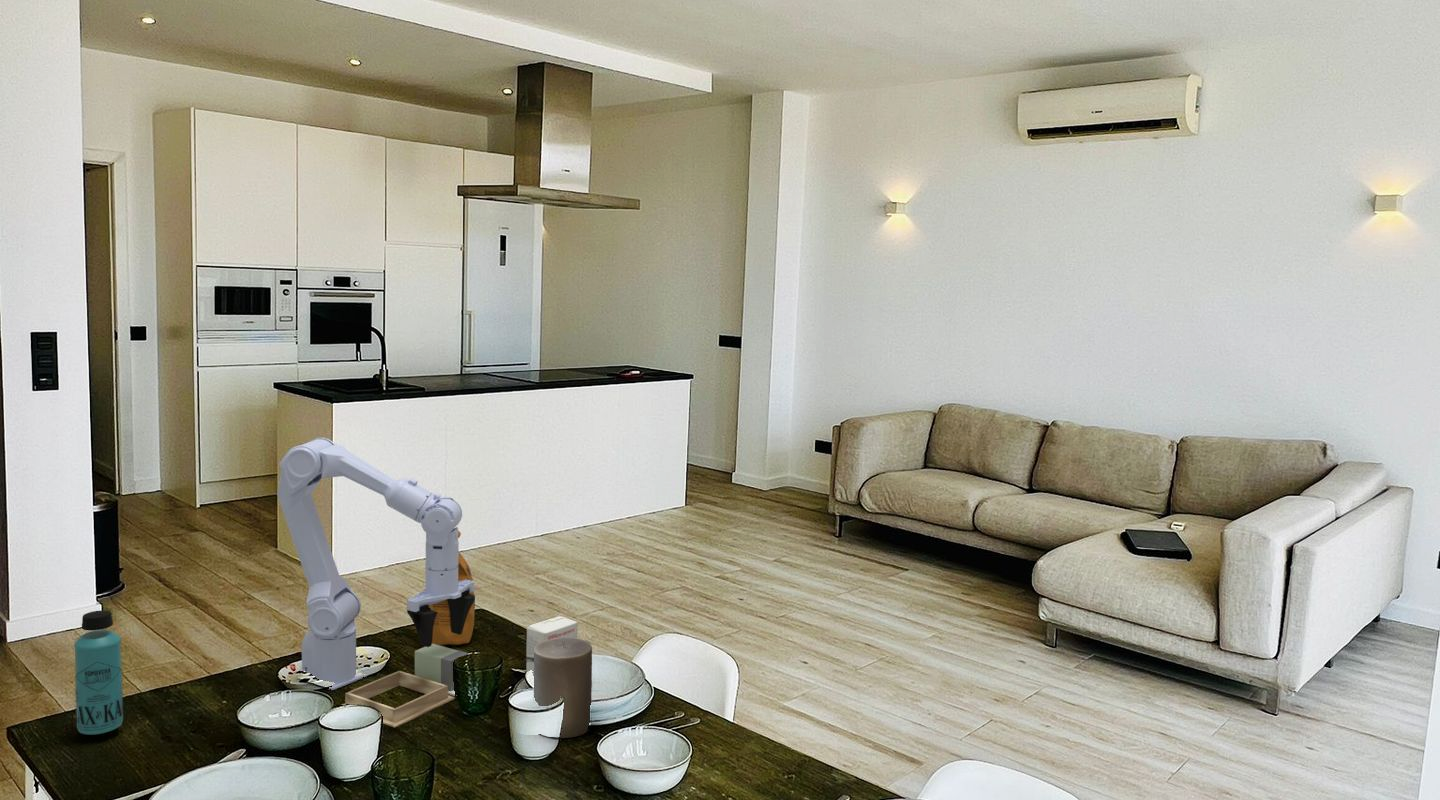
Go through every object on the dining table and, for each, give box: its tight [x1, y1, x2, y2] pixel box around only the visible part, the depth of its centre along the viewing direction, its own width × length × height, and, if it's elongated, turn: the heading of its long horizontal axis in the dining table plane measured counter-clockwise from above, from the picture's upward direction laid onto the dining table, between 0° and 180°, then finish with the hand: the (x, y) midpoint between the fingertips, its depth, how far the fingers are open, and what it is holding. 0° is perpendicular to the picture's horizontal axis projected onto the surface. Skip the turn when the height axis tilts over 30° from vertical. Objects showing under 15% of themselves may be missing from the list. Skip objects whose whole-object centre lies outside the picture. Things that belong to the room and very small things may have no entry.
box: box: [414, 644, 470, 691], centre depth 182 cm, size 9×5×6 cm, turn 60°
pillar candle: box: [533, 638, 593, 739], centre depth 166 cm, size 10×10×15 cm
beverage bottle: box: [73, 610, 125, 735], centre depth 157 cm, size 6×7×20 cm
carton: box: [341, 670, 456, 728], centre depth 173 cm, size 14×14×2 cm
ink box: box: [525, 615, 579, 676], centre depth 183 cm, size 9×5×12 cm, turn 143°
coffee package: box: [429, 530, 476, 646], centre depth 204 cm, size 10×12×22 cm
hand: (441, 639), depth 182 cm, fingers open, 7 cm apart
